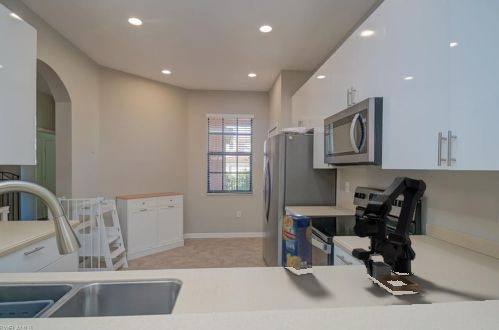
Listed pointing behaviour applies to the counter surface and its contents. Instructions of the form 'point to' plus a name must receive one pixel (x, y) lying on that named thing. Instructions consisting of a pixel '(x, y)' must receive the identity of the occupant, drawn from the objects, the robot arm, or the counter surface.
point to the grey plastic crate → (380, 269)
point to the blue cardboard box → (297, 241)
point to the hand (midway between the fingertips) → (378, 276)
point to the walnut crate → (410, 284)
